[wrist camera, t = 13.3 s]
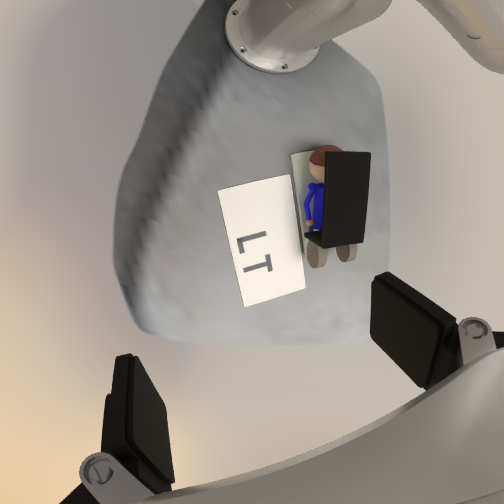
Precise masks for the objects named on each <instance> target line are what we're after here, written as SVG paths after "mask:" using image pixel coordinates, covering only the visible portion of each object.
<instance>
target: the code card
mask: <svg viewBox="0 0 504 504" xmlns="http://www.w3.org/2000/svg"><path fill="white" fill-rule="evenodd" d="M218 195H219V199H220V204H221V208H222V213H223V217H224V222H225V226H226V231H227V235H228V239H229V244H230V248H231V252H232V257H233V261H234V265H235V270H236V274H237V278H238V282H239V287H240V291H241V295H242V299H243V303H244V307H247V306H250V305H254V304H257V303H260V302H263V301H266V300H270V299H273V298H276V297H279V296H282V295H285V294H288V293H291V292H294V291H297V290H300V289H303V288H305V280H304V271H303V263H302V255H301V248H300V240H299V233H298V225H297V218H296V211H295V204H294V198H293V191H292V185H291V178H290V174H287V175H282V176H277V177H273V178H268V179H264V180H259V181H255V182H251V183H246V184H242V185H238V186H234V187H230V188H226V189H222V190H218Z"/></svg>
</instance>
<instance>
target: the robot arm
mask: <svg viewBox="0 0 504 504" xmlns="http://www.w3.org/2000/svg"><path fill="white" fill-rule="evenodd" d="M416 1H418V2H419V3H420V4H421V5H422V6H424V7H425V8H426V9H427V10H428V11H429V12H430V13H431V14H432V15H433V16H434V17H435V18H436V19H437V20H438V21H439V22H440V23H441V24H442V25H443V27H444V28H445V29H446V30H447V31H448V32H449V33H450V34H451V35H452V36H453V38H454V39H456V41H457V42H458V43H459V44H460V45H461V46H462V47H463V48H464V50H465V51H466V52H467V53H468V54H469V55H470V56H471V57H472V58H473V59H474V60H475V61H477V62H478V63H479V64H480V65H482V66H483V67H485V68H487V69H489V70H491V71H493V72H496V73H500V74H504V0H416ZM391 2H392V0H237V1H236V2H235V3H234V4H233V5H232V7H231V8H230V10H229V12H228V14H227V16H226V20H225V34H226V39H227V41H228V43H229V45H230V47H231V48H232V50H233V51H234V53H235V54H236V55H237V56H238V57H239V58H240V59H241V60H242V61H244V62H245V63H247V64H248V65H249V66H251V67H254V68H256V69H258V70H261V71H264V72H267V73H275V74H282V73H289V72H294V71H296V70H299V69H301V68H303V67H304V66H306V65H308V64H309V63H310V62H311V61H312V60H313V59H314V58H315V56H316V55H317V53H318V51H319V48H320V45H321V44H323V43H325V42H327V41H329V40H331V39H333V38H335V37H337V36H339V35H341V34H343V33H346V32H348V31H350V30H352V29H354V28H356V27H359V26H361V25H363V24H365V23H367V22H369V21H372V20H373V19H375V18H377V17H379V16H380V15H382V14H383V13H384V12H385V11H386V10H387V9H388V7H389V6H390V4H391ZM233 14H235V15H233ZM240 50H242V51H243V53H242V52H240ZM281 66H283V67H284V69H282V67H281ZM370 335H371V338H372V339H373V341H374V342H375V343H376V344H377V345H378V346H379V347H380V348H381V349H382V350H383V351H384V352H385V353H386V354H387V355H388V356H389V357H390V358H391V359H392V360H393V361H394V362H395V363H396V364H397V365H398V366H399V367H400V368H401V369H402V370H403V371H404V372H405V373H406V374H407V375H408V376H409V377H410V378H411V380H413V382H414V383H415V384H416V385H417V386H418V387H420V388H422V387H423V388H424V389H425V390H426V391H425V392H424V393H422V394H421V395H419V396H418V397H416V398H414V399H413V400H411V401H409V402H408V403H406V404H404V405H403V406H401V407H399V408H397V409H396V410H394V411H392V412H390V413H389V414H387V415H385V416H383V417H382V418H379V419H378V420H376V421H374V422H372V423H370V424H368V425H366V426H364V427H362V428H360V429H358V430H357V431H354V432H352V433H350V434H348V435H346V436H343V437H341V438H339V439H337V440H335V441H332V442H330V443H328V444H326V445H323V446H321V447H319V448H316V449H314V450H311V451H309V452H306V453H303V454H301V455H298V456H296V457H293V458H290V459H287V460H285V461H282V462H279V463H276V464H273V465H270V466H267V467H264V468H261V469H258V470H254V471H251V472H248V473H244V474H240V475H237V476H233V477H230V478H226V479H222V480H218V481H214V482H210V483H205V484H201V485H197V486H192V487H188V488H183V489H178V490H174V491H172V488H171V484H172V483H175V478H174V470H173V464H172V456H171V448H170V440H169V432H168V422H167V411H166V407H165V404H164V402H163V400H162V398H161V397H160V396H159V393H158V392H157V390H156V389H155V387H154V385H153V383H152V382H151V380H150V378H149V376H148V374H147V373H146V371H145V369H144V367H143V365H142V363H141V362H140V360H139V358H138V357H137V356H134V357H133V355H132V354H130V353H129V354H125V355H121V356H117V357H116V359H115V366H114V374H113V382H112V390H111V394H108V395H107V396H106V400H105V408H104V418H103V428H102V441H101V452H98V453H94V454H91V455H90V456H88V457H87V458H86V459H85V460H84V461H83V462H82V464H81V466H80V471H79V475H80V479H81V481H82V483H81V484H80V485H79V486H78V487H76V489H74V490H73V491H72V492H71V493H70V494H69V495H68V496H67V497H66V498H65V499H64V500H63V501H62V502H61V503H59V504H504V332H495V331H492V330H491V327H490V326H489V324H488V323H487V322H486V321H484V320H483V319H480V318H476V317H469V318H466V319H463V320H462V321H461V322H460V323H459V325H458V324H457V323H456V318H455V317H454V316H452V315H451V314H450V313H448V312H447V311H445V310H444V309H443V308H441V307H440V306H438V305H437V304H435V303H434V302H433V301H431V300H430V299H428V298H427V297H425V296H424V295H423V294H421V293H419V292H418V291H417V290H415V289H414V288H412V287H411V286H409V285H408V284H406V283H405V282H403V281H402V280H400V279H399V278H397V277H396V276H394V275H393V274H391V273H390V272H384V273H382V274H379V275H377V276H375V278H374V281H372V284H371V319H370ZM163 492H164V493H163Z"/></svg>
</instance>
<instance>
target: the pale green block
mask: <svg viewBox="0 0 504 504" xmlns="http://www.w3.org/2000/svg"><path fill="white" fill-rule="evenodd" d="M313 152H314V150H312V151H307V152H301V153H295V154H290V158H291V165H292V171H293V177H294V184H295V190H296V197H297V204H298V211H299V218H300V225H301V233H302V240H303V248H304V254H306V247H307V243H308V241H309V240H308V239H307V238H305V237H304V232H309V226H308V225H307V224H306V221H307V220H306V215H305V209H304V201H305V199H306V197H307V195H308V192H309V188H308V185H309V184H310V183H315V184H317V183H322V182H319V181H318V180H316V179H315V178H314V177H313V175H312V174H311V172H310V169H309V159H310V156H311V154H312V153H313ZM313 203H314V195H313V197H312V199H311V202H310V204H309V207H310V212H311V218H312V219H313ZM314 231H319V230H316V229H314ZM326 249H327V248H326ZM306 255H307V254H306Z"/></svg>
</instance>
